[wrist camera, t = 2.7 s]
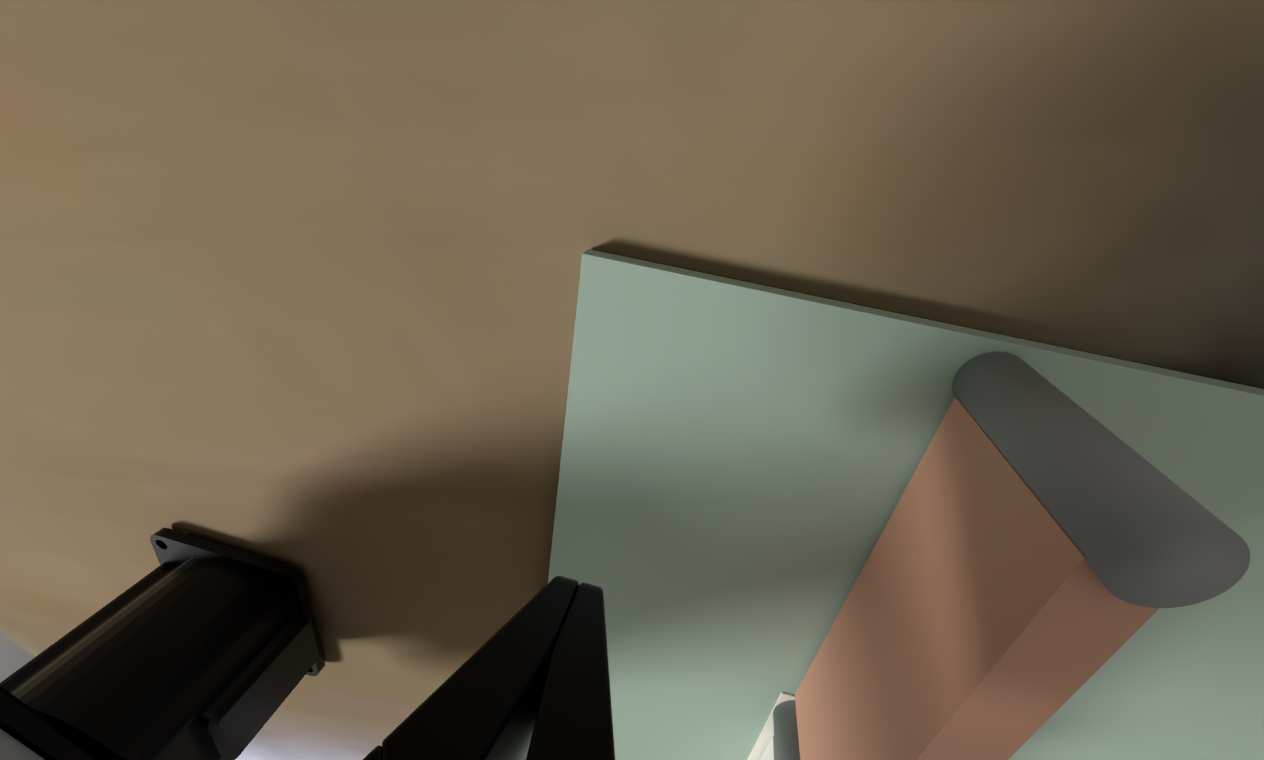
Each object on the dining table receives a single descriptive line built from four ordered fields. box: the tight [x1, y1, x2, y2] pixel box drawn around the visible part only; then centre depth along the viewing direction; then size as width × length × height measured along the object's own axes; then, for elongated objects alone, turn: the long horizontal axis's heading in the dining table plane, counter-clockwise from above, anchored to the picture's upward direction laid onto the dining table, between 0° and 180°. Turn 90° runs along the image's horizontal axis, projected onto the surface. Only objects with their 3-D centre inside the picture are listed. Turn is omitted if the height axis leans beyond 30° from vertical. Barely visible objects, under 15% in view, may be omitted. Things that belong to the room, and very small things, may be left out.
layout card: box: [548, 249, 1264, 760], centre depth 16 cm, size 24×25×1 cm
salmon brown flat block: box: [795, 352, 1250, 760], centre depth 11 cm, size 1×12×5 cm, turn 171°
